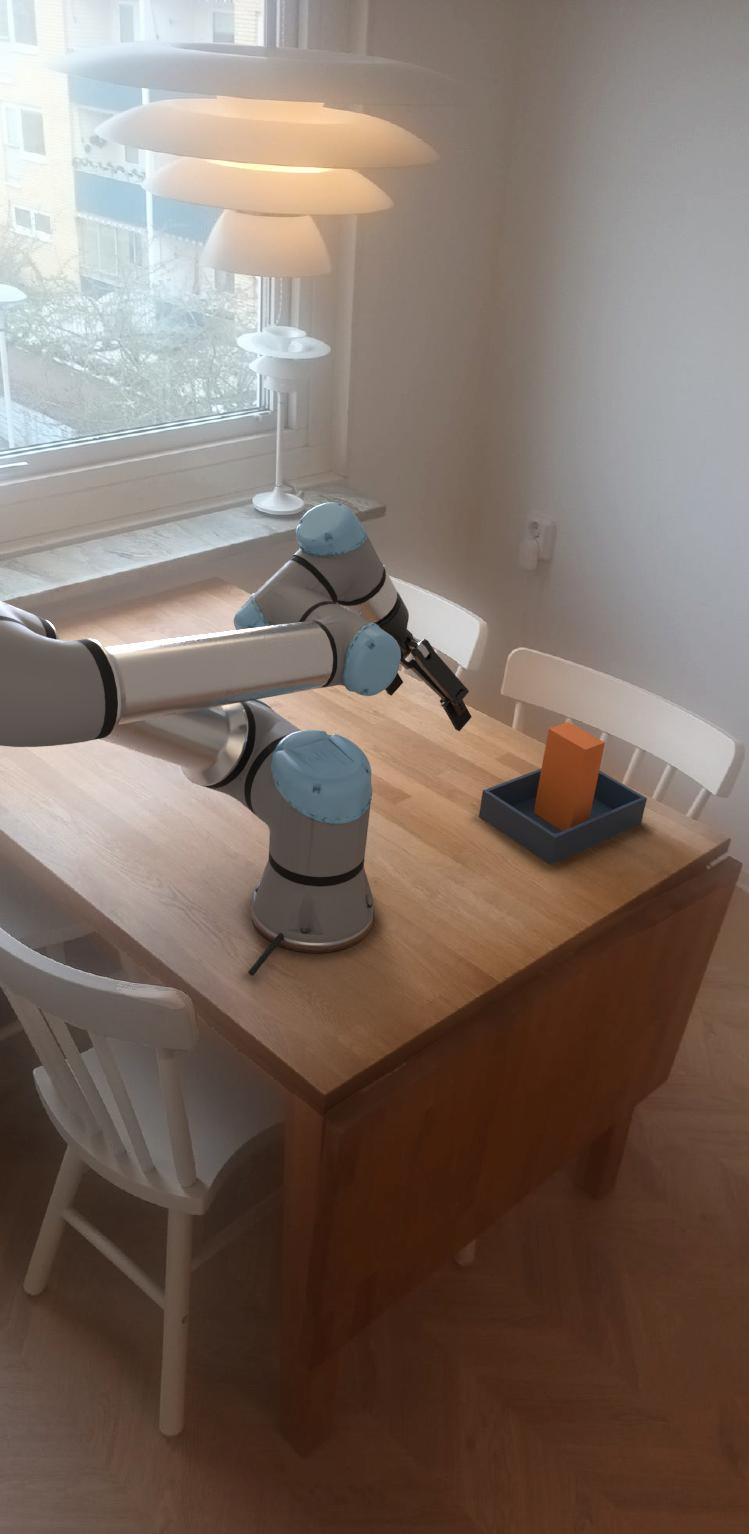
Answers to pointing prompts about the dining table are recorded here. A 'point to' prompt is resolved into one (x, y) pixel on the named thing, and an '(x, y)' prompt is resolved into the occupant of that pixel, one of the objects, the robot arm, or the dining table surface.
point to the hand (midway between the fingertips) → (428, 705)
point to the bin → (516, 819)
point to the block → (568, 776)
